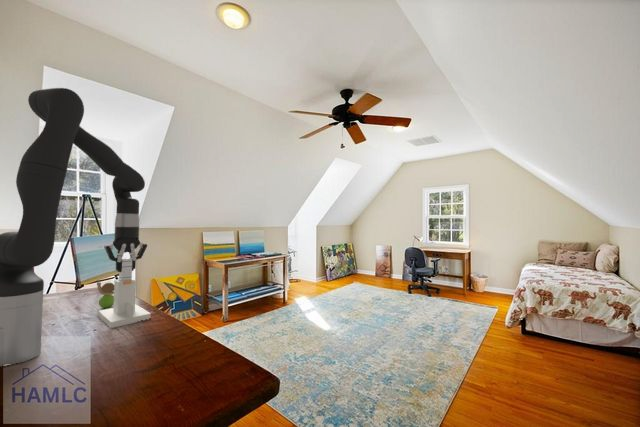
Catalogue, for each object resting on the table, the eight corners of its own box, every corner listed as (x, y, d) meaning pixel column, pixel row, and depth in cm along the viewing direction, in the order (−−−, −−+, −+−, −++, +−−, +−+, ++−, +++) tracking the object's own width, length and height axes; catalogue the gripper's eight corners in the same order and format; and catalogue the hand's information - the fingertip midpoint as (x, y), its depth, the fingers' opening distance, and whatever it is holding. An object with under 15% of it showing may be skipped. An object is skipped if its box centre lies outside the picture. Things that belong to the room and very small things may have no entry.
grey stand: (150, 318, 101) (151, 280, 101) (110, 328, 91) (112, 286, 92) (134, 308, 112) (135, 274, 112) (97, 315, 103) (99, 278, 103)
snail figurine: (97, 307, 113) (99, 278, 114) (116, 305, 116) (117, 277, 116) (93, 311, 108) (94, 280, 109) (113, 309, 111) (114, 279, 111)
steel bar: (130, 303, 102) (132, 258, 103) (120, 305, 100) (122, 259, 100) (128, 301, 104) (129, 257, 105) (117, 303, 102) (119, 258, 102)
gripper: (106, 225, 95) (104, 275, 94) (151, 225, 106) (150, 270, 105) (101, 225, 100) (99, 272, 99) (144, 225, 111) (143, 267, 110)
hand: (125, 271), depth 102 cm, fingers closed on steel bar, 3 cm apart
